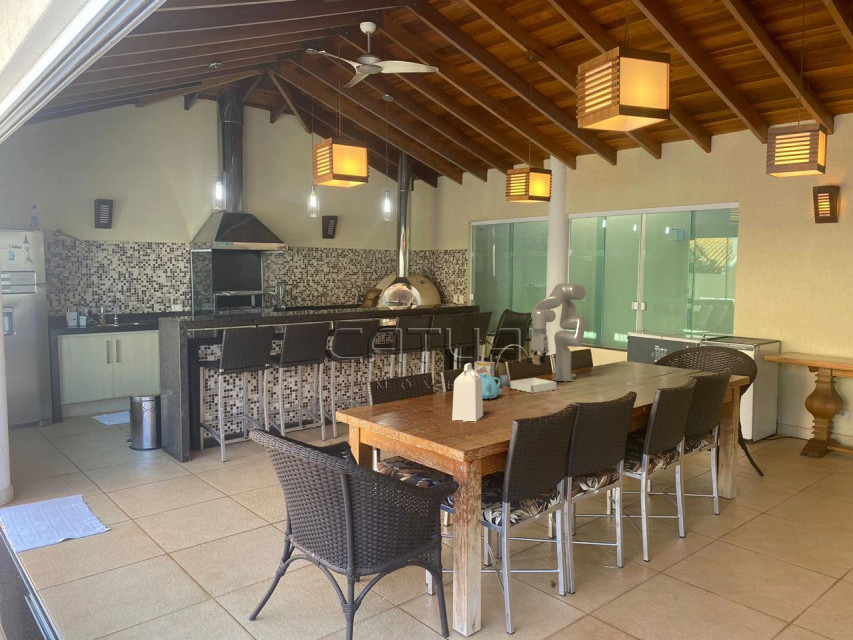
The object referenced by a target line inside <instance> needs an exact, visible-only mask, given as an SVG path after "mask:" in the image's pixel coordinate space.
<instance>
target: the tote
mask: <svg viewBox="0 0 853 640" xmlns="http://www.w3.org/2000/svg"><path fill="white" fill-rule="evenodd" d="M557 386H558V382H556V381H553V380H549V379H543V378H538V377H530V378H523V379H522V378H521V379H516V380H509V389H510V388H512V389H517V390H521V391H526V392H531V393H533V392H540V391H546V390H552V389H557V388H558V387H557Z"/></svg>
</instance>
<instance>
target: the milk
mask: <svg viewBox="0 0 853 640" xmlns="http://www.w3.org/2000/svg"><path fill="white" fill-rule="evenodd" d="M452 397H453V398H452V418H451V420H452V421H455V420H463V421H462V422H466V421H475V422H474V423H477V422H478V421H479V420H480V419H479V418H481V417H482V416H483V417H484V407H483V406H484V405H483V401H484V400H483V399H482V379H481V377H480V376H479V375H478V374H477V373H476V372H475V371H474V368H473V366H472V363H471V362H468V363H466V364H464V367H463V372H462V373H460V374H459V375H458V376H457V377H456V378H455V380H454V382H453V395H452ZM483 417H482V418H483ZM482 418H481V419H482ZM478 419H479V420H478ZM477 420H478V421H477ZM476 421H477V422H476Z"/></svg>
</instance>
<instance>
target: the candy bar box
mask: <svg viewBox="0 0 853 640" xmlns="http://www.w3.org/2000/svg"><path fill="white" fill-rule="evenodd" d="M473 364H474V365H473V366H474V367H473V370H474V371H475V372H476V373H477V374H478V375H479V376H481V374H482V373H484V374H486V376H491V377H493V378H495V366H496V365H495V364H496V363H495V362H492V361H481V360H477V361H474V362H473Z"/></svg>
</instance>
